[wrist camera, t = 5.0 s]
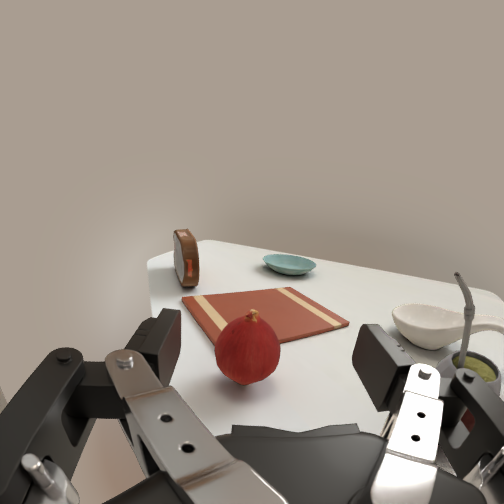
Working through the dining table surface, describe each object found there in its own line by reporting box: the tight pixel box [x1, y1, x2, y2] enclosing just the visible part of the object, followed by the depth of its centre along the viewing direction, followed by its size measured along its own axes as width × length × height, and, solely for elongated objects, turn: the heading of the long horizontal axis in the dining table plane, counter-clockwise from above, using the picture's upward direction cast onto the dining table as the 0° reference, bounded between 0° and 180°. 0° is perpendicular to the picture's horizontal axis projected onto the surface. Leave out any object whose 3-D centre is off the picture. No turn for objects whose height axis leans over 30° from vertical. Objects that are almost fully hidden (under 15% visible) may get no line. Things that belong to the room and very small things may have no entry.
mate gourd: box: [435, 272, 501, 443], centre depth 16 cm, size 8×8×15 cm
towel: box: [182, 287, 349, 345], centre depth 41 cm, size 20×15×1 cm
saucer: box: [263, 254, 316, 275], centre depth 64 cm, size 12×12×2 cm
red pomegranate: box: [215, 309, 280, 385], centre depth 25 cm, size 6×6×8 cm
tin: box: [174, 229, 199, 287], centre depth 51 cm, size 15×3×8 cm, turn 21°
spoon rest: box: [392, 304, 504, 350], centre depth 30 cm, size 24×12×7 cm, turn 33°
